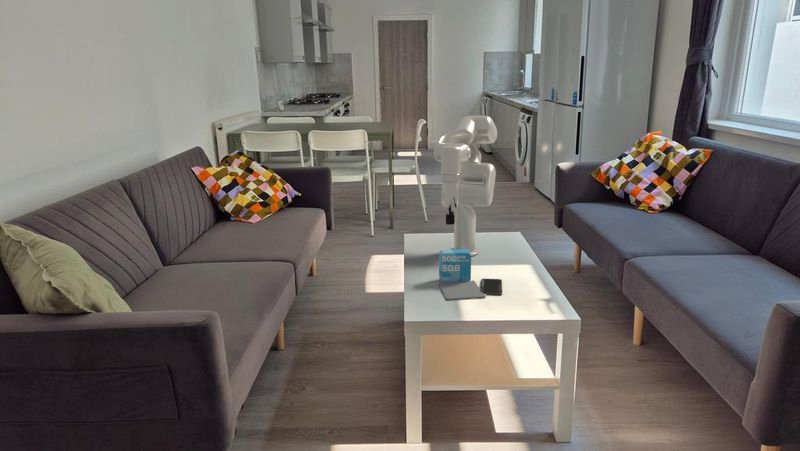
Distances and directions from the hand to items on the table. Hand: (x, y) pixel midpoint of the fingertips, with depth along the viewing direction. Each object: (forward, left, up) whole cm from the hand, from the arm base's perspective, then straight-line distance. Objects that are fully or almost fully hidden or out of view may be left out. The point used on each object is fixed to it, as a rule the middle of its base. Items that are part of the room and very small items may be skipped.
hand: (450, 223), depth 215 cm
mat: (+20, 0, -21) cm, 29 cm away
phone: (+18, +12, -21) cm, 30 cm away
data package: (+9, 0, -21) cm, 23 cm away
